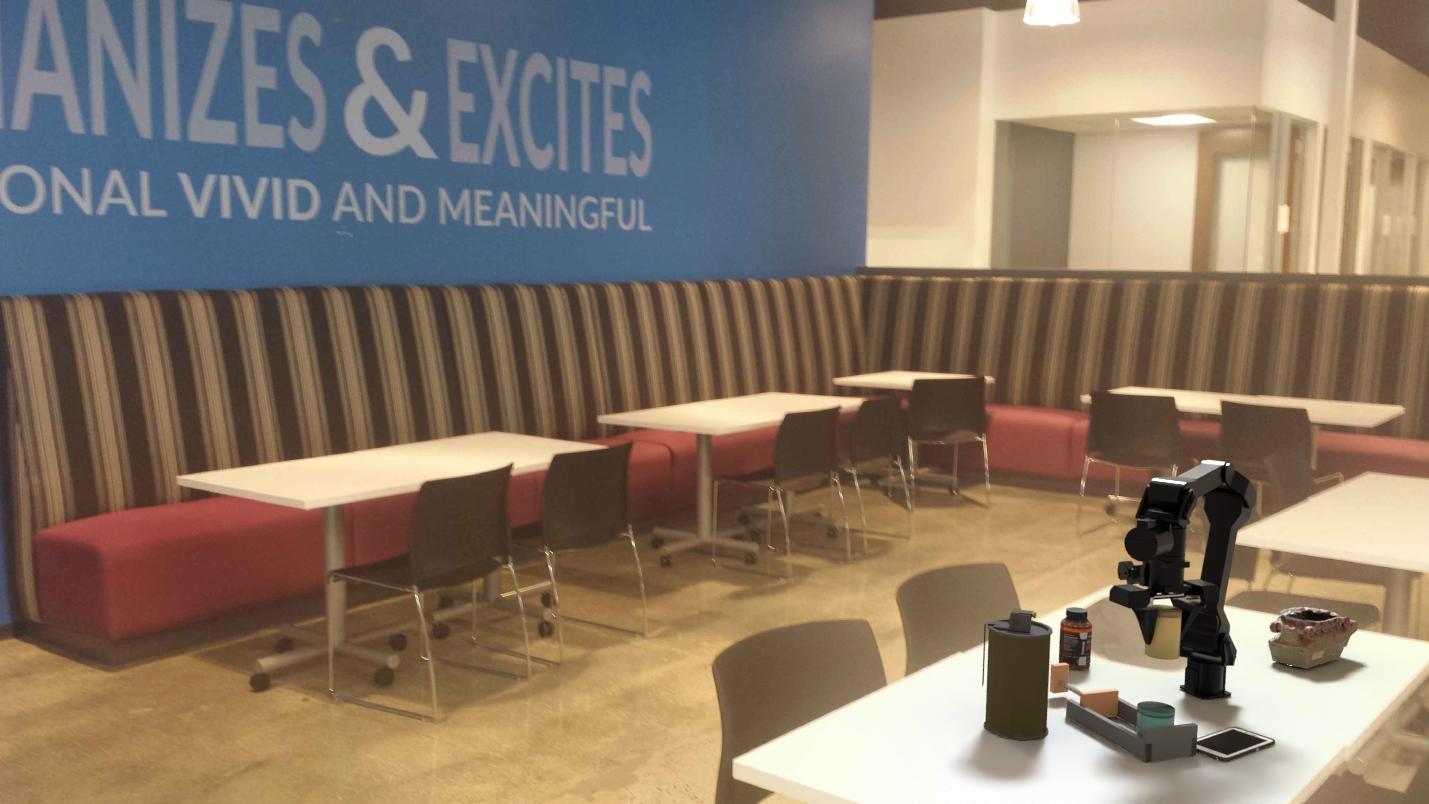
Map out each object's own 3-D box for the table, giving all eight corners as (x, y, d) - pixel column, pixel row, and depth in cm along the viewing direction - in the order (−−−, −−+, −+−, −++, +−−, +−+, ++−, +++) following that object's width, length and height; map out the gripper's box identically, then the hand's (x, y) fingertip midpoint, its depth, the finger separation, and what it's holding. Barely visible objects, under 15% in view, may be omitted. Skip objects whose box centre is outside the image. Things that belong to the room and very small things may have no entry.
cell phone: (1181, 749, 196) (1181, 743, 196) (1233, 731, 204) (1233, 725, 204) (1225, 765, 190) (1225, 758, 190) (1277, 745, 198) (1277, 739, 198)
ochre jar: (1164, 648, 212) (1166, 603, 211) (1187, 658, 206) (1189, 611, 205) (1137, 651, 210) (1139, 605, 209) (1159, 661, 204) (1161, 614, 204)
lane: (1112, 711, 212) (1113, 683, 211) (1196, 755, 192) (1197, 724, 192) (1065, 716, 209) (1067, 688, 208) (1146, 762, 189) (1147, 731, 189)
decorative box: (1243, 655, 246) (1246, 608, 245) (1308, 643, 255) (1311, 597, 254) (1302, 674, 234) (1305, 624, 234) (1367, 660, 244) (1371, 613, 243)
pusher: (1073, 692, 221) (1074, 661, 220) (1117, 716, 209) (1119, 683, 208) (1040, 696, 218) (1041, 665, 218) (1082, 720, 206) (1084, 687, 206)
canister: (1050, 722, 206) (1055, 606, 204) (1045, 744, 196) (1051, 622, 194) (984, 714, 209) (989, 600, 208) (977, 735, 200) (982, 615, 198)
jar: (1156, 741, 198) (1159, 699, 197) (1180, 754, 193) (1183, 711, 192) (1127, 745, 196) (1129, 703, 196) (1150, 758, 191) (1153, 715, 190)
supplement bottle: (1091, 672, 233) (1094, 614, 232) (1059, 669, 235) (1062, 612, 233) (1088, 662, 239) (1091, 606, 238) (1057, 660, 240) (1059, 604, 239)
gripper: (1180, 540, 217) (1175, 626, 218) (1091, 546, 211) (1087, 634, 212) (1224, 554, 206) (1219, 644, 208) (1132, 559, 200) (1128, 652, 202)
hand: (1162, 643), depth 208 cm, fingers closed on ochre jar, 6 cm apart
